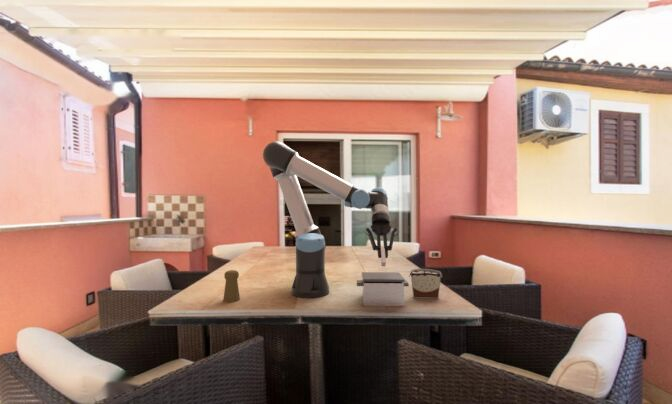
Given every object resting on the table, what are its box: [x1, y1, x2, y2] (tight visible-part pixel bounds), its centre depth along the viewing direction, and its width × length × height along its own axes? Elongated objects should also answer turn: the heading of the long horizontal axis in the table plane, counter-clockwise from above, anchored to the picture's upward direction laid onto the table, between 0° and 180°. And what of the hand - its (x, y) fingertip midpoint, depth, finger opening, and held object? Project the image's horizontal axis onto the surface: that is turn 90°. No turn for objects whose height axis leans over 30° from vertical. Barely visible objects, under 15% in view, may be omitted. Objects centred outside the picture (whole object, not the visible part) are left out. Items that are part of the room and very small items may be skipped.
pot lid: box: [361, 271, 405, 282], centre depth 119 cm, size 15×12×1 cm
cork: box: [222, 269, 241, 303], centre depth 121 cm, size 6×6×11 cm
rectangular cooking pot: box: [356, 279, 410, 307], centre depth 119 cm, size 19×12×8 cm, turn 88°
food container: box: [408, 268, 443, 299], centre depth 125 cm, size 12×6×10 cm, turn 84°
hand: (383, 264), depth 121 cm, fingers closed
